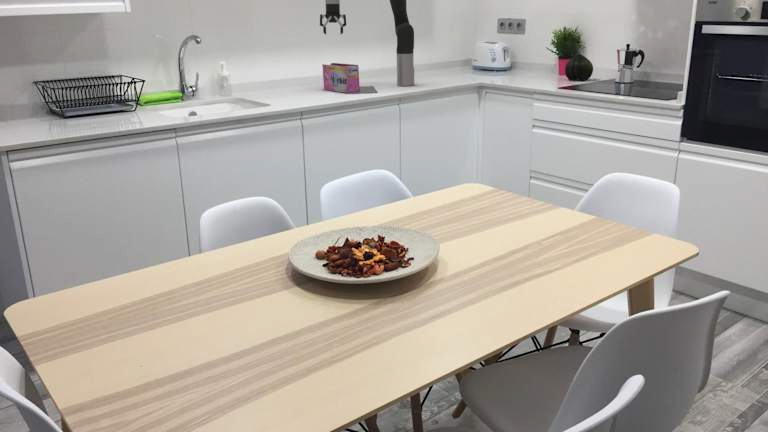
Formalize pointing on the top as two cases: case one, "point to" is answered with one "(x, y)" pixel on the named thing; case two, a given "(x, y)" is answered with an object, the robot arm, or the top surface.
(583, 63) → the squash
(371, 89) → the mat
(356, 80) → the gum box
